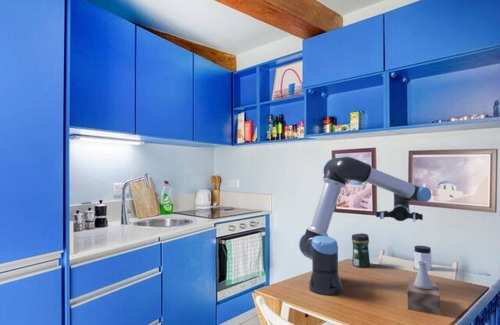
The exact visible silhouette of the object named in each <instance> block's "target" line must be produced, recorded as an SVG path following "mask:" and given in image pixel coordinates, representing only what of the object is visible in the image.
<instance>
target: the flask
mask: <svg viewBox="0 0 500 325" xmlns="http://www.w3.org/2000/svg"><path fill="white" fill-rule="evenodd" d="M418 263H419V269H418V271H417V274H416V276H415V279H414V280H415V282H414V286H415V287H417V288H420V289H433V286H432V283H433V282H432V281H431V278H430V275H429V273H428V270H427V269H426V264H427V262H424V261H418ZM431 282H432V283H431Z"/></svg>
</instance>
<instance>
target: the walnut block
mask: <svg viewBox="0 0 500 325" xmlns="http://www.w3.org/2000/svg"><path fill="white" fill-rule="evenodd" d="M414 282H415V279H410V278H409V279H408V282H407V290H406V291H407V310H411V311H416V312H422V313H427V314H428V313H429V314H434V315H439V316H441V313H442V312H441V294H440V293H441V292H440V288H439V282H432V281H431V283H432V286H433V289H420V288H417V287H415V286H414Z"/></svg>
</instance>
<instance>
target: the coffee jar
mask: <svg viewBox="0 0 500 325" xmlns="http://www.w3.org/2000/svg"><path fill="white" fill-rule="evenodd" d="M351 242H352V266H354V267H356V268H366V267H369V266H371V260H370V252H369V251H370V250H369V242H370V238H369V235H368V234H367V233H363V232H362V233H354V234H352V235H351Z"/></svg>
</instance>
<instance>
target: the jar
mask: <svg viewBox="0 0 500 325" xmlns="http://www.w3.org/2000/svg"><path fill="white" fill-rule="evenodd" d="M413 255H414V257H413V258H414V269H417V270H419V263H418V261H424V262H427V264H426V269H427V272H429V271H431V270H432V250H431V247H430V246H426V245H415V246H414V251H413Z"/></svg>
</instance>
